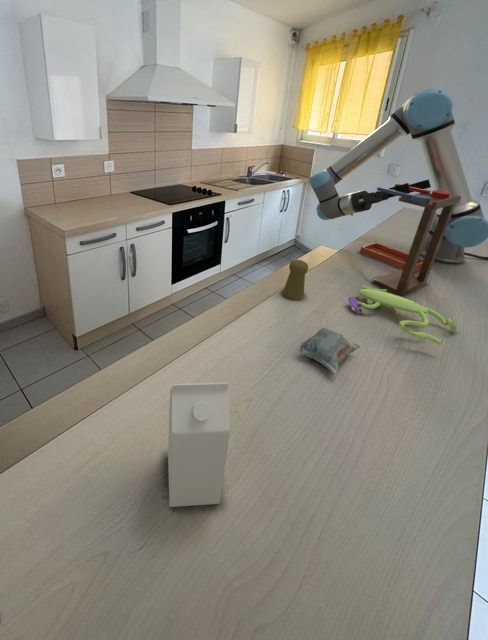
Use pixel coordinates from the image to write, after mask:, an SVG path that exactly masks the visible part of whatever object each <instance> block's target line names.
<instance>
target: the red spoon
mask: <svg viewBox="0 0 488 640" xmlns="http://www.w3.org/2000/svg"><path fill="white" fill-rule="evenodd" d="M399 185H402V184H400V183H395V184H394V187H395V186H399ZM409 187H410V186H409ZM410 191H414V192H413V193H423V194H430V193H431V196H433V197H437V198H444V199H446V198H449V196H450V193H449V192H445V191H438V190H435V189H433V190H429V189H420V188H415V187H410Z"/></svg>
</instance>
